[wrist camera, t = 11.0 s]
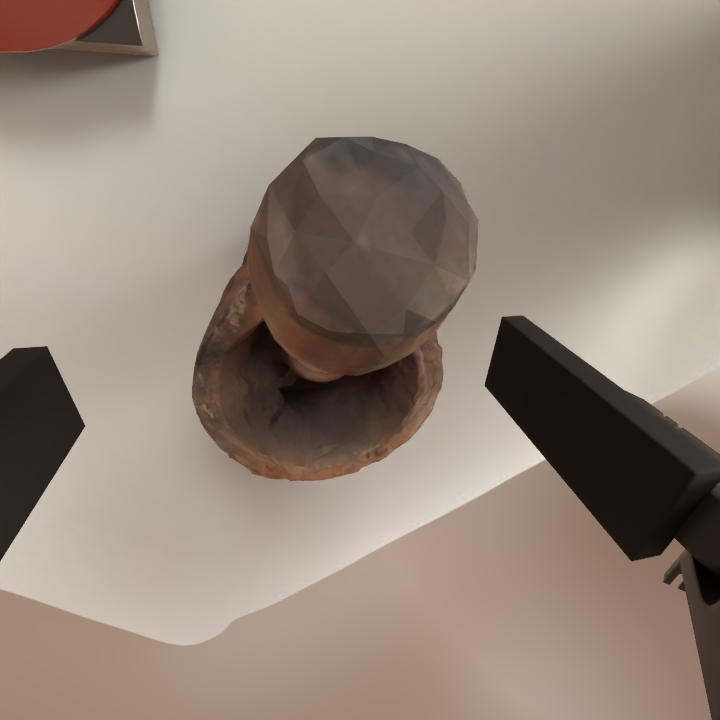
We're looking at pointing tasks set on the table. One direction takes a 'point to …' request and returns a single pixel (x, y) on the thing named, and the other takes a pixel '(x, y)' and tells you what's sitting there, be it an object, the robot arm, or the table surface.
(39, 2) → the burner
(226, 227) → the table surface
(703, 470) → the robot arm
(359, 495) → the table surface
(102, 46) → the stove
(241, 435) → the mortar and pestle
